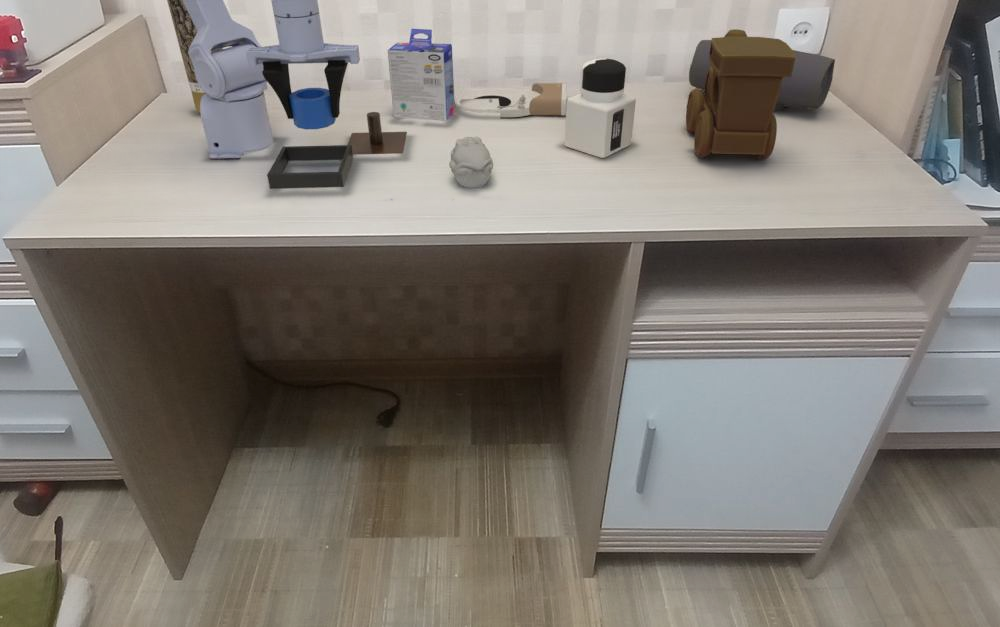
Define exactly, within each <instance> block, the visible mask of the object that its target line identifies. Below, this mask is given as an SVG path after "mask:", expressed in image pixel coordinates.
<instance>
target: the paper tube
mask: <svg viewBox="0 0 1000 627" xmlns="http://www.w3.org/2000/svg"><path fill="white" fill-rule="evenodd" d="M166 2H167V6H168V9H169V12H170V16H171V20H172V24H173V28H174V31H175V35H176V40H177V43H178V47H179V51H180V55H181V58H182V62H183V66H184V70H185V74H186V77H187V81H188V85H189V88H190V92H191V96H192V99H193V103H194V108H195V109H196V111H197V113H199V114H200V101H201V98H202V96H203V95H205V94H207V93H206V92H204V91H203V89H202V88H201V87H200V85H199V83H198V81H197V79H196V76H195V72H194V67H193V63H192V61H191V58H190V56H189V54H188V51H189V48H190V45H191V43H192V41H193V40H194V38H195V36H196V34H197V30H196V28H195V26H194V23H193V21H192V19H191V17H190V15H189V13H188V11H187V9H186V7H185V5H184V3H183V1H182V0H166ZM222 49H224V48H221V49H217V50H213V51H211V52H214V51H218V50H222Z"/></svg>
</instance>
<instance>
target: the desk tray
mask: <svg viewBox="0 0 1000 627" xmlns="http://www.w3.org/2000/svg"><path fill="white" fill-rule="evenodd" d="M337 160H338V161H340V160H341V162H340V165H339V168H338V171H310V172H309V171H307V172H306V171H305V172H284V171H285V168H287V165H288V163H289V162H296V161H297V162H298V161H299V162H300V161H303V162H305V161H337ZM353 160H354V155H353V152H352V145H348V144H334V145H333V144H332V145H331V144H330V145H297V146H296V145H294V146H291V145H290V146H282V147H281V149H280V151H279V152H278V154H277V156H276V158H275V160H274V162H273V164H272V165H271V166H270V167H271V168H270V169H269V171H268V173H267V174H266V176H267V181H268V186H269V189H277V190H278V189H279V190H280V189H311V188H312V189H316V188H319V189H320V188H344V187H345V184H346V181H347V178H348V175H349V173H350V169H351V167H352V163H353Z"/></svg>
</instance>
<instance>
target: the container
mask: <svg viewBox="0 0 1000 627" xmlns="http://www.w3.org/2000/svg"><path fill="white" fill-rule="evenodd" d="M626 74H627V67H626V66H625V64H623V63H622V62H620V61H619V60H616V59H612V58H594V59H591V60H587V61H585V62H584V63H583V65H582V66H581V74H580V93H578V94H576V95H573V96H571V97H568V98H566V115H565V129H564V130H565V131H564V146H565V147H566V148H570V149H572V150H576V151H578V152H581V153H585V154H587V155H591V156H594V157H597V158H599V159H605V158H607V157H609V156H611V155H613V154H615V153H617V152H620V151H621V150H624V149H625V148H627V147H630V145H632V141H633V140H632V139H633V131H634V122H635V121H634V120H635V112H636V102H637V98H636V96H633V95H628V94H624V93H625V84H626Z"/></svg>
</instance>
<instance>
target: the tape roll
mask: <svg viewBox="0 0 1000 627" xmlns="http://www.w3.org/2000/svg"><path fill="white" fill-rule="evenodd" d="M291 92H292V91H291ZM289 99H290V105H291V110H292V115H293V119H292V120H293V125H294V126H295V127H296V128H297V129H301V130H320V129H325V128H329V127H330V126H332V125H335V122H336V121H337V118H333V117H332V112H331V101H330V93H329V88H322V87H305V88H300V89H296V90H295V91H293V92H292V93H291V94H290V96H289Z"/></svg>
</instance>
